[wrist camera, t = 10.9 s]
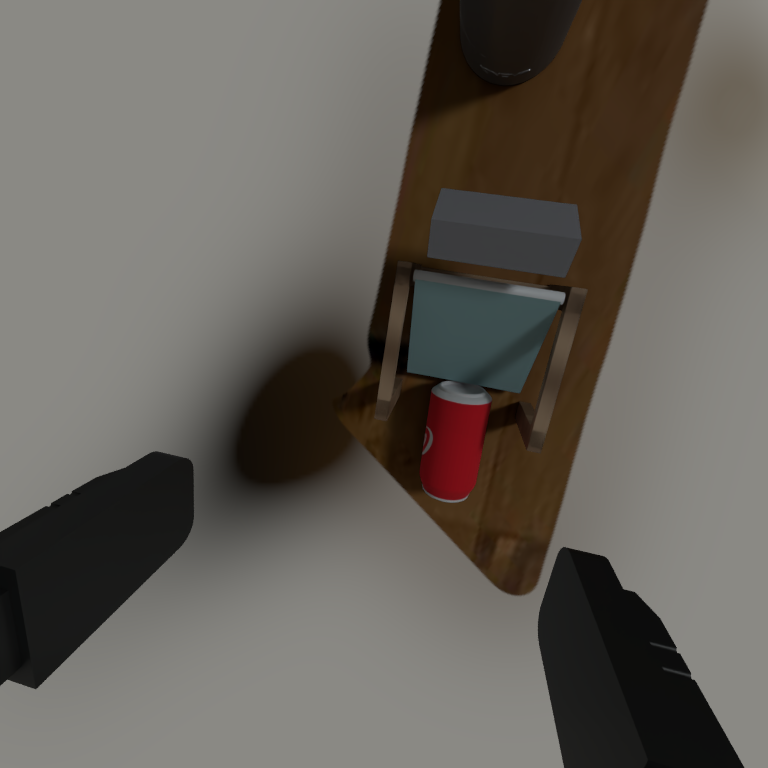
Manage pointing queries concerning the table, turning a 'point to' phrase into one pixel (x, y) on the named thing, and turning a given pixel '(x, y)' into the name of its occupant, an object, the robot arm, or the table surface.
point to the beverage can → (454, 440)
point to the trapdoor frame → (527, 419)
